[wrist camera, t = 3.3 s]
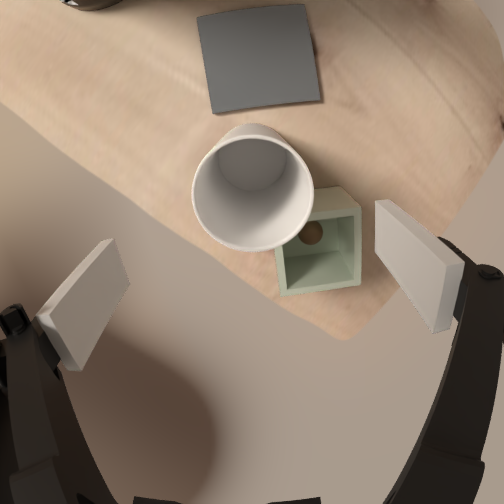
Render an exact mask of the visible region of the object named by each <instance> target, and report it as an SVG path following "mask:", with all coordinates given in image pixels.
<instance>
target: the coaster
mask: <svg viewBox="0 0 504 504" xmlns="http://www.w3.org/2000/svg"><path fill="white" fill-rule="evenodd" d="M197 23H198V29H199V36H200V42H201V48H202V54H203V60H204V66H205V72H206V78H207V84H208V90H209V96H210V101H211V107H212V113H213V114H214V113H220V112H226V111H232V110H238V109H245V108H251V107H259V106H266V105H274V104H283V103H293V102H304V101H316V100H320V93H319V86H318V79H317V73H316V66H315V60H314V54H313V48H312V42H311V36H310V31H309V26H308V20H307V15H306V10H305V6H304V4H296V5H279V6H267V7H258V8H249V9H242V10H235V11H228V12H222V13H216V14H211V15H206V16H201V17H197Z"/></svg>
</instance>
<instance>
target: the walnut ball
mask: <svg viewBox="0 0 504 504" xmlns="http://www.w3.org/2000/svg"><path fill="white" fill-rule="evenodd" d="M322 236H323V229H322V226H321V225H320V223H319V222H317V221H315V220H314V221H307V222H306V223H305V225H304V227H303V228H302V229H301V230H300V232H299V233H298V237H299V239H300V240H301V241H302V242H303V243H304V244H307V245H314V244H316V243H318V242H319V241H320V240H321V238H322Z"/></svg>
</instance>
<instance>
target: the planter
mask: <svg viewBox="0 0 504 504" xmlns="http://www.w3.org/2000/svg"><path fill="white" fill-rule="evenodd" d="M314 220H315V221H317V222H319V223H320V225H321V226H322V229H323V236H322V238H321V240H320V241H319V242H318V243H316V244H314V245H307V244H304V243H303V242H302V241H301V240H300V239H299V237H298V234H297V235H296V236H294V237H293V238H292V239H291V240H289V241H288V242H286V243H285V244H283V245H281V246H279V247H277V248H274V255H275V262H276V269H277V276H278V283H279V290H280V297H283V296H290V295H298V294H305V293H312V292H318V291H325V290H332V289H338V288H344V287H351V286H357V285H361V266H362V209H361V206H360V205H359V204H358V203H357V202H356V201H355V200H354V199H353V198H352V197H351V196H350V195H349V194H348V193H347V192H346V191H345V190H344V189H343V188H342V187H341V186H336V187H327V188H318V189H314V201H313V207H312V210H311V213H310V216H309V218H308V220H307V221H314Z"/></svg>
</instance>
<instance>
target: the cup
mask: <svg viewBox="0 0 504 504" xmlns="http://www.w3.org/2000/svg"><path fill="white" fill-rule="evenodd" d="M313 201H314V186H313V181H312V177H311V174H310V171H309V169H308V167H307V165H306V163H305V162H304V160H303V159H302V158H301V156H300V155H299V154H298V153H297V152H296V151H295V150H294V149H293V148H292V147H291V146H290V145H289V144H288V143H287V142H286V141H285V140H284V139H283V138H282V137H281V136H280V135H279V134H278V133H277V132H276V131H274V130H273V129H272V128H270V127H268V126H265V125H263V124H258V123H246V124H242V125H239V126H236V127H234V128H233V129H231V130H230V131H229V132H227V133H226V134H225V135H224V136H223V138H222V139H221V140H220V141H219V142H218V143H217V144H216V145H215V146H214V147H213V148H212V149H211V150H210V151H209V153H208V154H207V155H206V156H205V157H204V159H203V160H202V161H201V163H200V165H199V166H198V169H197V171H196V173H195V176H194V180H193V185H192V203H193V208H194V211H195V214H196V217H197V219H198V221H199V222H200V224H201V226H202V227H203V228H204V230H205V231H206V232H207V233H208V234H209V235H210V236H211V237H212V238H213V239H215V240H216V241H218V242H219V243H221V244H222V245H225V246H227V247H229V248H232V249H235V250H238V251H244V252H262V251H267V250H271V249H274V248H277V247H279V246H281V245H283V244H285V243H286V242H288V241H289V240H291V239H292V238H293V237H294V236H296V235H297V234H298V233H299V232H300V230H301V229H302V228H303V227H304V225H305V223H306V222H307V220H308V218H309V216H310V213H311V210H312V207H313Z"/></svg>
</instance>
